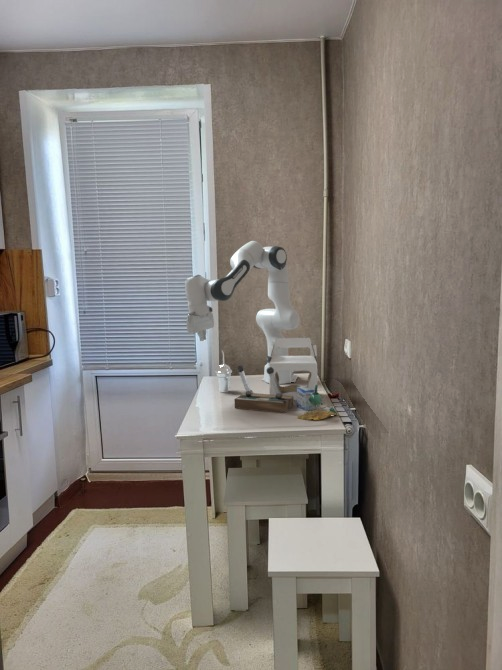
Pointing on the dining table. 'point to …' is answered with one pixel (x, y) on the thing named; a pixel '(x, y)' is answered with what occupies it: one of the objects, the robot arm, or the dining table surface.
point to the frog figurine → (315, 401)
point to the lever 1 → (244, 380)
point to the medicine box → (304, 397)
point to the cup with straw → (223, 376)
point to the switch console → (264, 402)
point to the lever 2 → (274, 382)
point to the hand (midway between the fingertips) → (203, 340)
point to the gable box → (293, 364)
